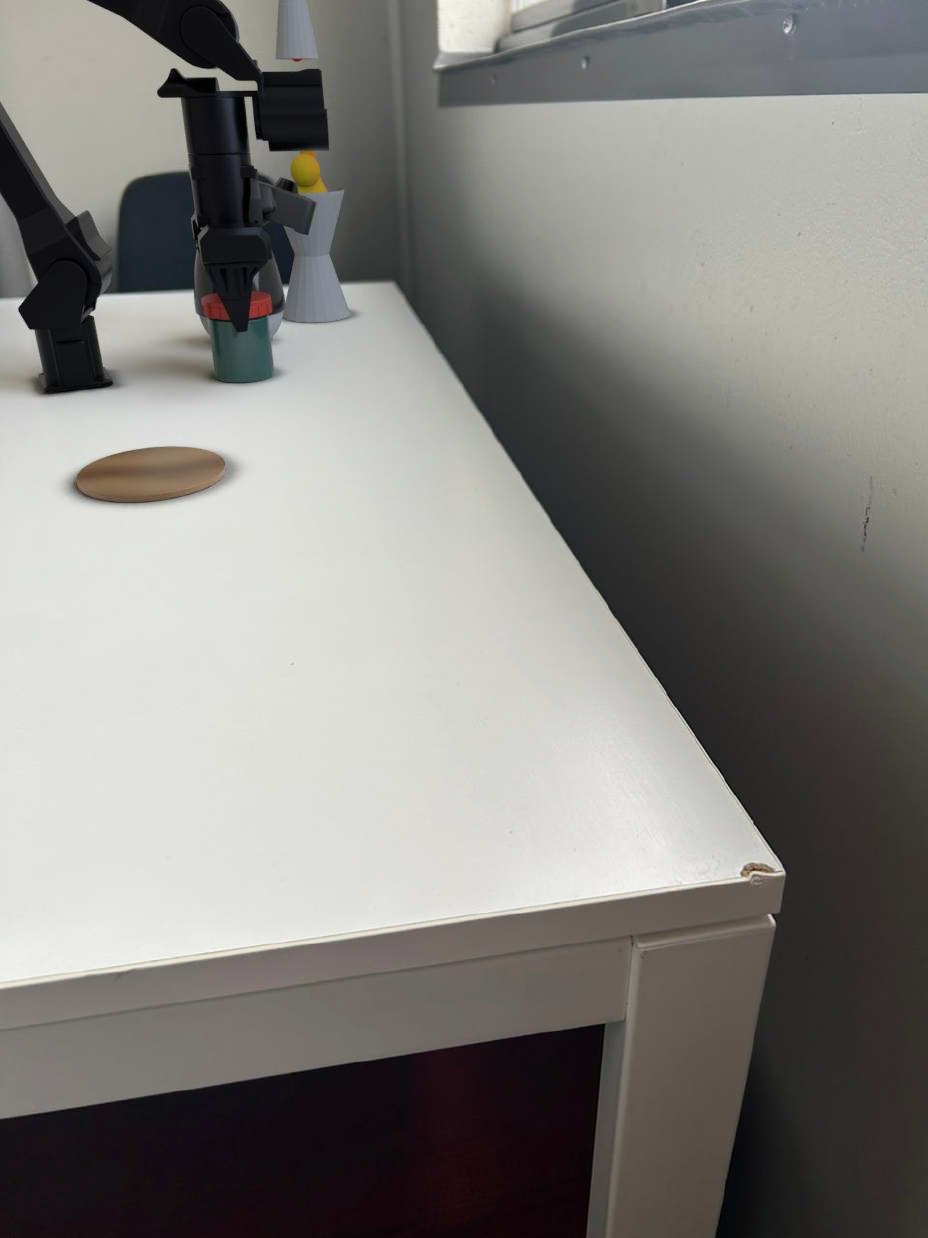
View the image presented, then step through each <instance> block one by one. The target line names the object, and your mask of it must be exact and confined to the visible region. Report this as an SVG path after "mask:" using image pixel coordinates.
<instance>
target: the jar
mask: <svg viewBox="0 0 928 1238" xmlns="http://www.w3.org/2000/svg"><path fill="white" fill-rule="evenodd" d="M208 325H209V333H210V335H209V340H210V348H211V356H212V363H213V371H214V377H215V379H216V380H218V381H220V382H224V383H233V384H235V383H236V384H240V383H241V384H243V383H254V382H259V381H263V380H264V381H265V380H267V379H270V378H272V377H273V376H274V375H275V366H274V355H273V345H272V338H271V334H270V324H269V315H268V314H267V315H264V316H260V317H255V318H249V323H248V330H247V331H246V332H237V331H236V330H235V328H234V326H233V324H232V322H231V320H230V319H214V318H209V317H208Z"/></svg>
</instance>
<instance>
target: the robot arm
mask: <svg viewBox="0 0 928 1238" xmlns="http://www.w3.org/2000/svg"><path fill="white" fill-rule="evenodd" d="M86 1H87V2H89V3H91V4H94V5H96V6H98V7H100V8H101V9H104V10H106V11H108V12H109V13H110V12H111V13H113V14H115V15H117V16H119V17H121V18H123V19H124V20H126V21H127V22H128V23H130V24H132V25H133V26H135V27H136V28H137V29H138V30H140V31H141V32H143V33H144V34H146V35H147V36H148V37H150V38H151V39H153V41H156V42H157V43H158V44H159V45H161V46H162V47H164V48H166V49H167V50H168V51H170V52H171V53H173V54H174V55H176V56H177V57H179V58H180V59H182V60H183V61H184V62H186V63H187V64H188V65H190V66H193V67H195V68H199V69H204V70H220V71H222V72H223V73H225V74H226V75H227V76H229V77H231V78H232V79H233V80H235V81H236V82H237V81H238V82H255V83H256V87H257V88H256V89H255V90H252V89H251V90H221V87H220V84H219V80H218V77H217V76H195V77H194V76H191V77H190V76H189V77H188V76H187V77H185V76H184V75H183V74H182V73H181V72H180V70H179V69H178V68H175V67H172V68H170V70H169V73H168V76H167V78H166V79H165V81H164V82H163V83H162V84H161V86H159V88H158V89H157V91H156V94H157V97H159V98H161V99H180V104H181V105H180V106H181V112H182V120H183V121H182V122H183V128H184V134H185V143H186V150H187V151H186V152H187V158H188V164H187V165H188V173H189V178H190V184H191V192H192V198H193V205H194V206H193V207H194V211H193V212H194V213H193V214H192V216H191V217H190V222H191V230H192V238H193V240H194V241H198V242H199V243H196V244H195V247H196V251H197V250H198V252H199V254H200V256H201V261H202V264H203V266H204V268H205V270H206V272H207V274H208V276H209V278H210V280H211V282H212V284H213V286H214V288H215V290H216V292H217V294H218V296H219V298H220V300H221V302H222V304H223V306H224V308H225V310H226V312H227V314H228V316H229V318H230V320H231V322H232V324H233V326H234V328H235V330H236V331H237V332H246V331H247V330H248V323H249V313H250V304H251V294H252V286H253V279H254V276H255V275H256V274H257V273H258V272H259V271H260V270H261V268H262V267H263V266H265V265H266V264H267V263H268V261H269V259H272V252H273V250H272V251H271V249H272V245H271V244H272V241H271V236H270V235H269V234H268V233H267V231H266V230H264V229H263V226H265V225H264V224H263V219H266V220H268V221H270V222H272V223H274V224H277V225H279V226H280V225H281V226H283V227H284V226H286V227H289V228H292V229H294V230H295V232H298V233H301V234H304V235H309V231H310V227H311V223H312V219H313V215H314V211H315V208H316V204H317V203H316V202H315V201H314V200H312V199H310V198H307V197H306V196H302V195H299V193H298V188H297V183H296V182H295V181H294V180H291V179H288V178H285V177H282V176H280V177H279V178H278V179H277V180H276V181H275V182H274V184H270V183H267V182H264V181H261V180H260V179H259V171H258V168H256V167H255V165H254V164H252V156H251V155H252V154H251V147H250V145H251V144H250V136H249V135H250V134H249V126H248V118H247V107H246V98H251V103H252V104H251V105H252V115H253V116H252V117H253V125H254V134H255V139H256V141H262V142H267V144H268V151H269V152H270V153H272V152H273V153H274V152H277V153H278V152H281V153H282V152H300V151H315V152H324V151H325V152H326V151H327V152H329V151H330V140H329V139H330V137H329V122H328V121H329V120H328V119H329V118H328V108H327V107H325V95H324V84H323V75H322V74H323V72H322V70H321V69H320V68H304V69H301V70H297V71H296V70H295V71H291V70H288V71H287V70H286V71H284V70H283V71H282V70H281V71H262V70H261V69H260V67H259V62H258V61H259V60H257V59H253V58H252V57H251V55H250V54H249V53H248V52H247V50H246V49H245V48H244V46H243V45H242V44H241V43H240V38H241V37H240V30H239V25H238V22H237V20H236V18H235V16H234V14H233V12H232V11H231V10H230V9H229V7H228V6H227V5H226V4H225V3H224V2H223V1H222V0H86ZM0 195H1V198H2V199H3V200H4V202H5V204H6V205H7V207H8V210H9V211H10V212H11V213H12V215H13V216H14V219H15V221H16V223H17V228H18V231H19V234H20V238H21V242H22V245H23V250H24V253H25V256H26V258H27V261H28V263H29V265H30V267H31V270H32V272H33V275H34V276H35V279H36V282H37V283H36V285H35V286H34V287H33V288H32V290H31V291H30V292H29V293H28V294H27V296H26V297H25V298H24V300H23V301H22V302H21V303H20V304H19V306H18V307H17V311H18V313H19V315H20V317H21V318H22V320H23V321H24V324H25V325H26V327H27V328H28V330H30V331H34V336H35V341H36V346H37V349H38V350H37V351H38V355H39V360H40V364H41V368H42V372H40V373H38V374H37V376H38V380H39V382H40V385H41V387H42V390H43V393H56V392H64V391H73V390H81V389H88V388H89V389H90V388H98V387H105V386H112V385H114V380H113V377H112V376H111V374H110V373H109V371H108V370H107V368H106V367H105V366H104V363H103V358H102V353H101V348H100V342H99V335H98V331H97V325H96V320H95V316H94V315H91V314H92V312H94V311H95V310H96V309H97V302H98V299H99V298H100V297H101V296H102V295H103V293H104V292H105V291H106V290H107V289H108V287H109V286H110V284H111V282H112V277H113V263H112V261H111V257H110V255H109V253H110V252H111V251H112V250H113V247H112V246H111V245H110V244H108V243H107V242H106V241H105V240H104V239H103V237H102V236H101V235H100V233H99V230H98V228H97V226H96V223H95V221H94V217H93V216H92V214H91V212H90V211H89V210H88V209H85V210H84V211H82V212H81V213H79V214H77V215H75V214H74V213H73V212H72V211H71V210H70V209H69V208H68V207H67V206H66V205H65V203H63V202H62V201H61V200H60V199H59V197H58V196H57V194H56V192H55V191H54V189H53V188H52V186H51V185H50V183H49V181H48V180H47V177H46V176H45V174H44V173H43V171H42V169H41V167H40V166H39V164H38V163H37V161H36V159H35V158H34V156H33V154H32V153H31V151H30V149H29V148H28V146H27V144H26V143H25V141H24V139H23V137H22V135H21V134H20V132H19V130H18V129H17V126H15V123H14V121H13V120H12V118H11V117H10V115H9V114H8V112H7V109H6V108H5V107H4V105H3V103H2V102H1V101H0ZM262 225H263V226H262ZM259 226H261V227H262V228H261V227H259Z"/></svg>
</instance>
